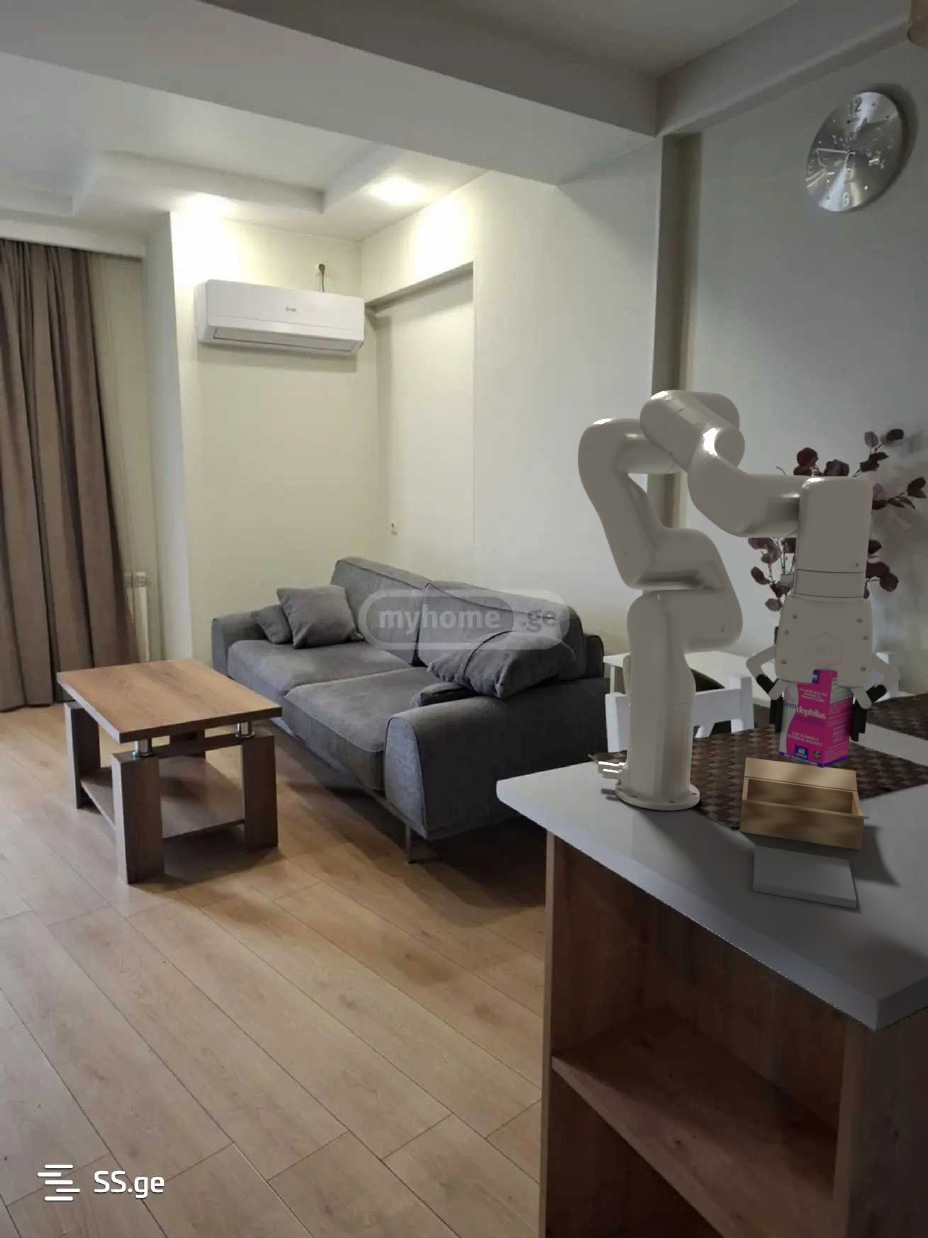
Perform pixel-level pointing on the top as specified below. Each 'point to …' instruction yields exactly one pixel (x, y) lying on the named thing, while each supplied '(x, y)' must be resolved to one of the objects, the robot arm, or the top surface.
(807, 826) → the wooden crate
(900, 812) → the top surface
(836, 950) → the top surface
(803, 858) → the mat
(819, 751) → the supplement box
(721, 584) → the robot arm
